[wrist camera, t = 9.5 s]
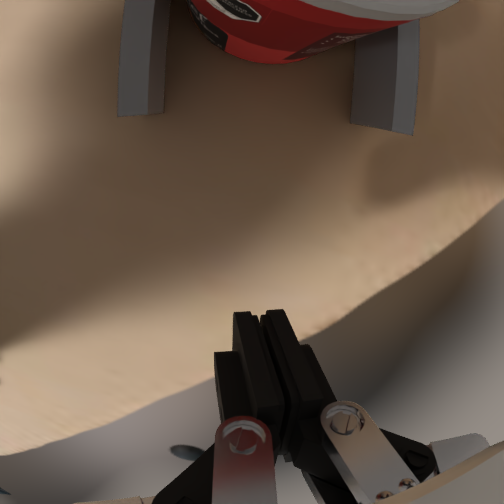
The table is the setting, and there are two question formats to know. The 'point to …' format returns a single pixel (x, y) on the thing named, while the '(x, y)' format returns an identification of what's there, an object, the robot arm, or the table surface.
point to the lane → (364, 83)
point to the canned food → (299, 24)
